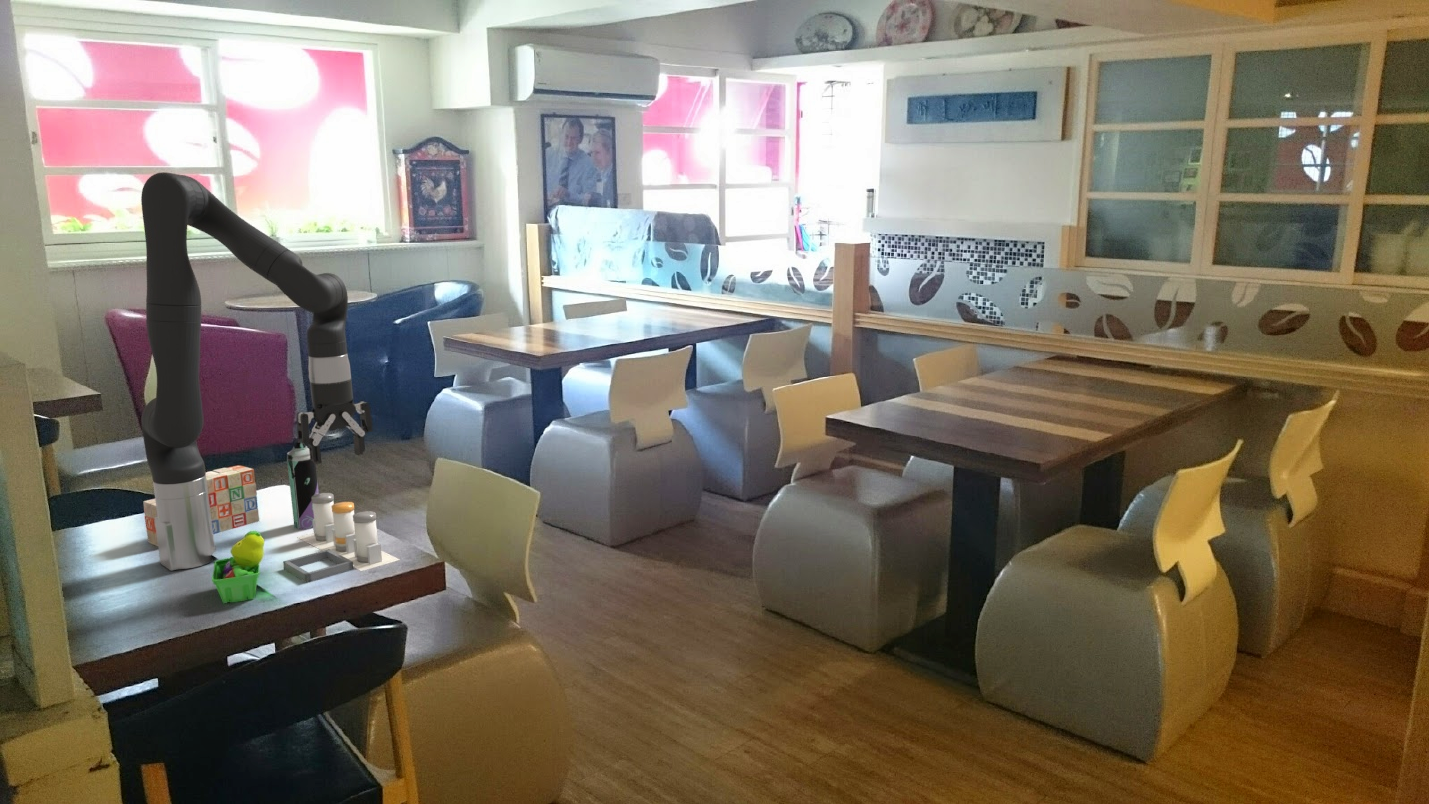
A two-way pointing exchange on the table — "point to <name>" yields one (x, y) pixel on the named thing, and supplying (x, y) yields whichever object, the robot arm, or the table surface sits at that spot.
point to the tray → (341, 567)
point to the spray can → (302, 485)
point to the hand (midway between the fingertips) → (338, 458)
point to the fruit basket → (240, 569)
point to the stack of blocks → (220, 501)
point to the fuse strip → (350, 549)
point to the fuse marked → (343, 523)
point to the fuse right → (364, 533)
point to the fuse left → (322, 513)
